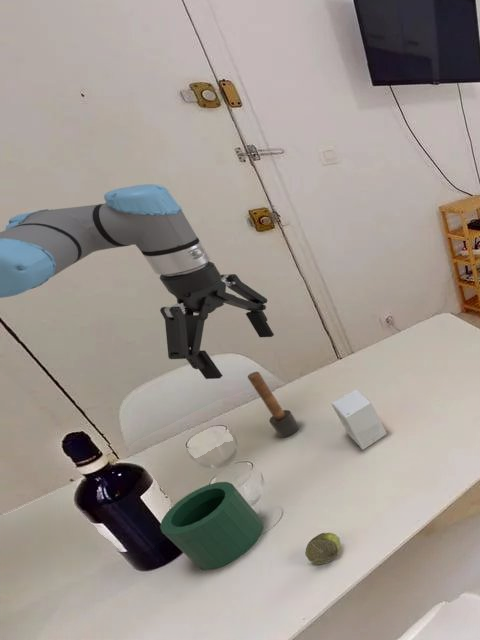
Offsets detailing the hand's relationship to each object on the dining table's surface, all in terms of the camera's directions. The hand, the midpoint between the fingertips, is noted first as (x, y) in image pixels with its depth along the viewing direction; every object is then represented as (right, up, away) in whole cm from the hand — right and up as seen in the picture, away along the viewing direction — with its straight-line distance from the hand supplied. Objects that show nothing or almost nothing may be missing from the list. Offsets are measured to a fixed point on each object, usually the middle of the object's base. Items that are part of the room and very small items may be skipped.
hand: (242, 355), depth 87 cm
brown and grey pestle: (0, -20, +11) cm, 23 cm away
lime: (+29, -34, -14) cm, 47 cm away
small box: (+20, -21, +10) cm, 31 cm away
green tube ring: (+9, -33, -11) cm, 36 cm away
